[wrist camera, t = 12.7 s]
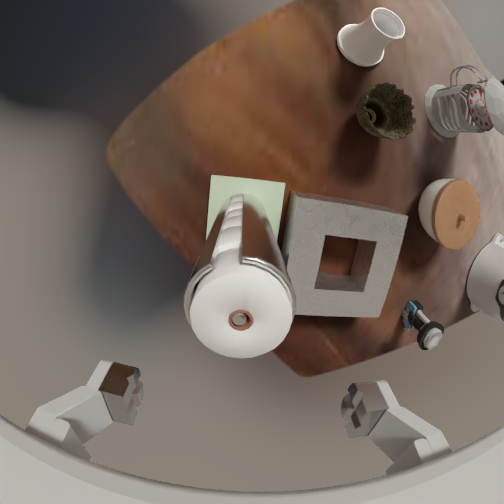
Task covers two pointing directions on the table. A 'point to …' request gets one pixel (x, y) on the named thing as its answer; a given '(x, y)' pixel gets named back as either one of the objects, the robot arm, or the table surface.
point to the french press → (454, 106)
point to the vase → (370, 37)
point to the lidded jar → (450, 212)
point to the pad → (261, 189)
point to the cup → (386, 112)
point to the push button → (422, 326)
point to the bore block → (365, 260)
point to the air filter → (240, 284)
